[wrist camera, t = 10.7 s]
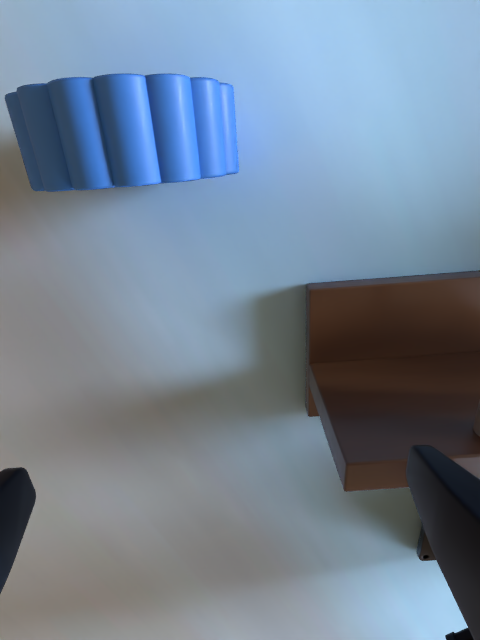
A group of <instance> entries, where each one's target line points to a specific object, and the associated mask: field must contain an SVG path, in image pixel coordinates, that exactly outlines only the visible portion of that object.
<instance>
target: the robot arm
mask: <svg viewBox="0 0 480 640" xmlns="http://www.w3.org/2000/svg"><path fill="white" fill-rule="evenodd" d="M406 478H407V482H408V485H409V488H410V491H411V494H412V496H413V499H414V502H415V505H416V507H417V510H418V513H419V516H420V519H421V521H422V524H423V525H422V530H421V535H420V539H419V544H418V548H417V555H418V557H419V559H420V560H422V561H429V560H437V562H438V564H439V567H440V569H441V571H442V573H443V575H444V577H445V579H446V581H447V583H448V586H449V588H450V590H451V592H452V594H453V596H454V598H455V600H456V602H457V605H458V607H459V609H460V611H461V613H462V615H463V617H464V619H465V621H466V624H467V626H468V628H466V629H464V630H461V631H459V632H457V633H454V632H452V633H450V634H447V635H446V640H480V479H479V478H478V477H476V476H475V475H473V474H472V473H470V472H469V471H468V470H466V469H465V468H463V467H462V466H460V465H459V464H458V463H456V462H455V461H453V460H452V459H450V458H449V457H447V456H446V455H445V454H443V453H442V452H440V451H439V450H437V449H436V448H434V447H433V446H431V445H413V446H411V448H410V450H409V456H408V461H407V467H406ZM35 500H36V492H35V489H34V487H33V484H32V482H31V479H30V477H29V475H28V472H27V470H26V469H24V468H22V467H20V468H7V469H4V470H2V471H1V472H0V593H1V591H2V589H3V587H4V584H5V582H6V580H7V578H8V575H9V573H10V570H11V568H12V565H13V563H14V560H15V557H16V555H17V552H18V549H19V546H20V543H21V540H22V538H23V535H24V532H25V529H26V526H27V524H28V521H29V518H30V515H31V512H32V510H33V507H34V504H35Z"/></svg>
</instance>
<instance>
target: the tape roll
mask: <svg viewBox="0 0 480 640" xmlns="http://www.w3.org/2000/svg"><path fill="white" fill-rule="evenodd" d="M5 101H6V104H7V108H8V111H9V114H10V118H11V121H12V124H13V128H14V131H15V134H16V138H17V141H18V145H19V148H20V151H21V155H22V158H23V161H24V165H25V168H26V171H27V175H28V178H29V181H30V185H31V188H32V189H33V190H34V191H48V192H54V191H69V190H94V189H105V188H114V187H133V186H144V185H153V184H160V183H173V182H184V181H192V180H198V179H204V178H214V177H221V176H224V175H229V174H236V173H238V171H239V165H238V150H237V135H236V120H235V105H234V89H233V86H232V85H230V84H227V83H219V82H218V80H216V79H212V78H204V77H194V78H189V77H188V76H185V75H180V74H152V75H145V76H143V75H138V74H107V75H101V76H97V77H94V78H88V77H71V78H61V79H55V80H52V81H50V82H48V83H42V84H30V85H24V86H21V87H18V88H17V92H12V93H9V94H7V95H5Z"/></svg>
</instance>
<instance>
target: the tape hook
mask: <svg viewBox="0 0 480 640" xmlns="http://www.w3.org/2000/svg"><path fill="white" fill-rule="evenodd" d="M305 406H306V410H307V413H308V416H309V417H313V416H319V417H320V420H321V423H322V426H323V429H324V432H325V435H326V438H327V441H328V444H329V447H330V450H331V453H332V456H333V459H334V462H335V465H336V468H337V471H338V474H339V477H340V480H341V483H342V486H343V489H344V491H346V492H348V491H363V490H378V489H392V488H407V487H409V485H408V482H407V478H406V467H407V461H408V456H409V450H410V448H411V446H413V445H431V446H433V447H434V448H436V449H437V450H439V451H440V452H442V453H443V454H445V455H446V456H447V457H449V458H450V459H452V460H453V461H455V462H456V463H458V464H459V465H460V466H462V467H463V468H465V469H466V470H468V471H469V472H470V473H472V474H473V475H475V476H476V477H478V478H479V479H480V271H470V272H457V273H443V274H430V275H417V276H403V277H390V278H376V279H363V280H350V281H336V282H323V283H309V284H307V285H306V404H305Z"/></svg>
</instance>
